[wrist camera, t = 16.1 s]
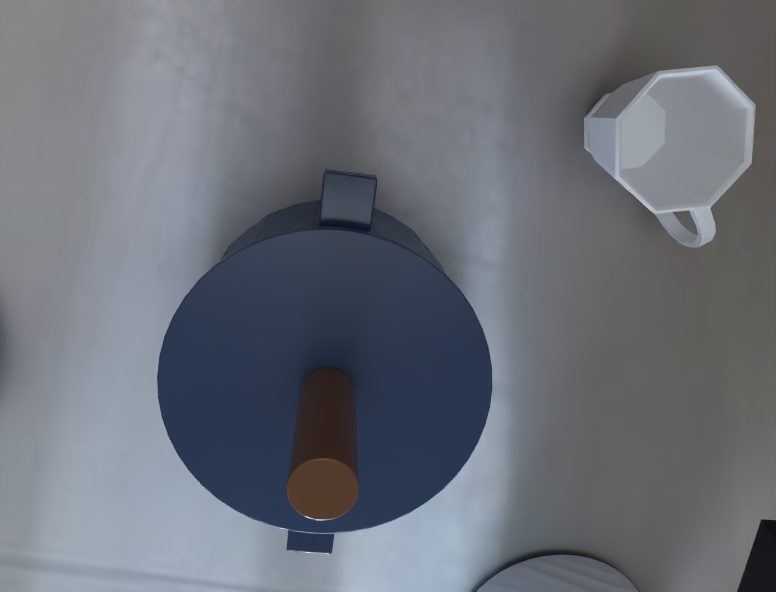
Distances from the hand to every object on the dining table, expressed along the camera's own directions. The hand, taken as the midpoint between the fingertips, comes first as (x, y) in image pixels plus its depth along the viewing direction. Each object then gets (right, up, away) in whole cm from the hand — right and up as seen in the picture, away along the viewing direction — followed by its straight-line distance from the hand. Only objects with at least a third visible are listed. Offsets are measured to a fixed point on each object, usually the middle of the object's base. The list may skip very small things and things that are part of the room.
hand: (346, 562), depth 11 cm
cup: (+15, +12, +29) cm, 35 cm away
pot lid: (-2, 0, +22) cm, 22 cm away
